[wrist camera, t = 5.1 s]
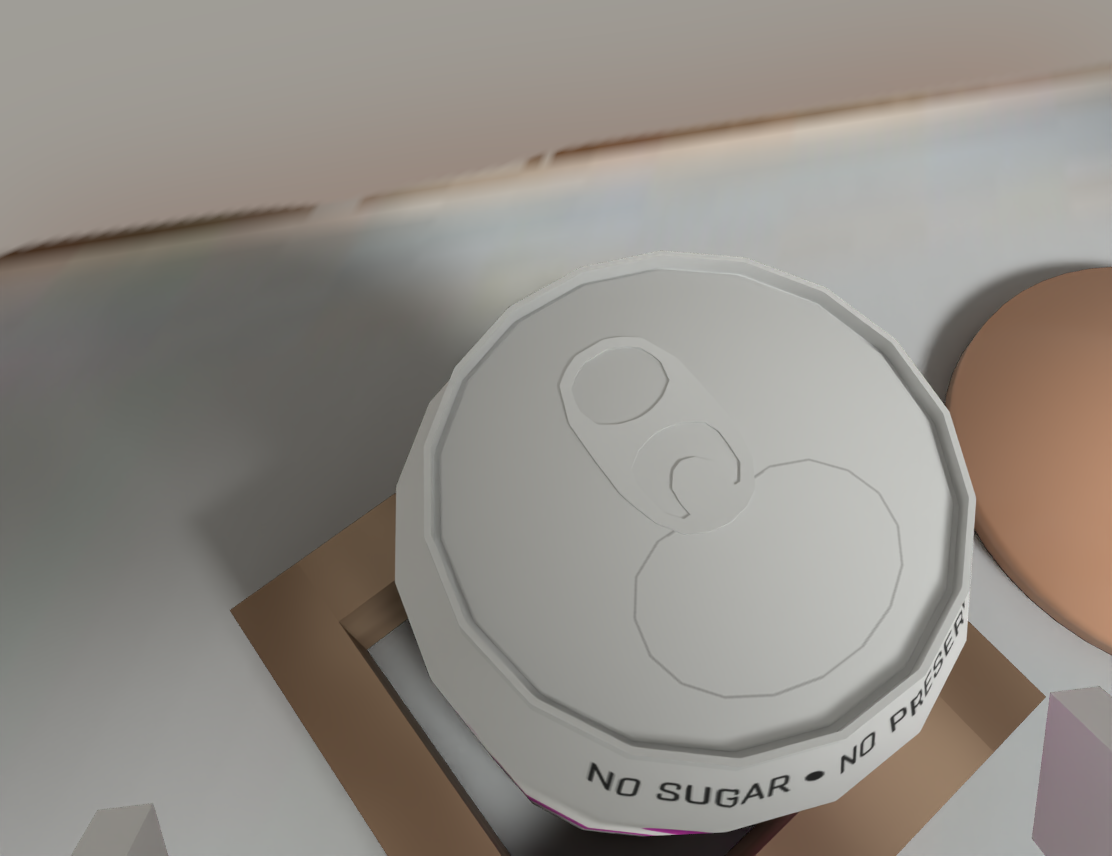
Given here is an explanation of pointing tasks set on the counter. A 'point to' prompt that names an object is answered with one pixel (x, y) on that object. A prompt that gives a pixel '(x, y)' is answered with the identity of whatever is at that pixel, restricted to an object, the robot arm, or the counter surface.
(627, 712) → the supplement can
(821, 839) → the walnut collar
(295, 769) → the counter surface
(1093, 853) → the robot arm
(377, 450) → the counter surface
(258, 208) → the counter surface
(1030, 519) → the terracotta disc
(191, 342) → the counter surface
